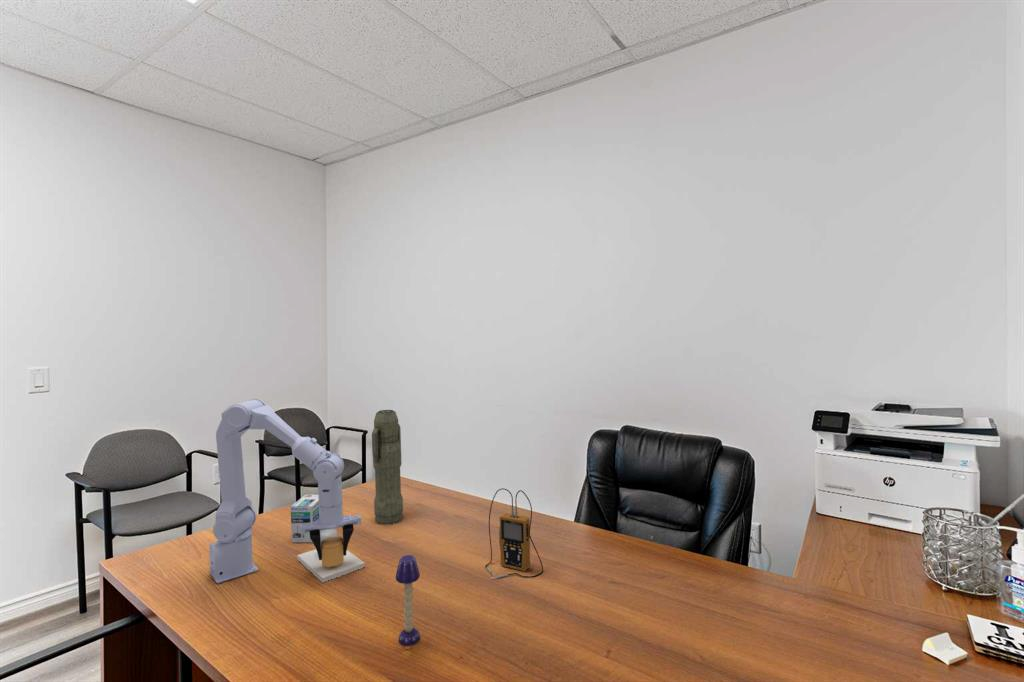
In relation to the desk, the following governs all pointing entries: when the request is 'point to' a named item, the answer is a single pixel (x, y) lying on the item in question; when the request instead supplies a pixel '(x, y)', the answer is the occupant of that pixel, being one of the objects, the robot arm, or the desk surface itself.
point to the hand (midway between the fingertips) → (332, 556)
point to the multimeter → (514, 540)
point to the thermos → (387, 467)
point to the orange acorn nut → (332, 551)
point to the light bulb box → (303, 516)
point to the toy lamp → (408, 598)
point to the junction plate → (327, 571)
